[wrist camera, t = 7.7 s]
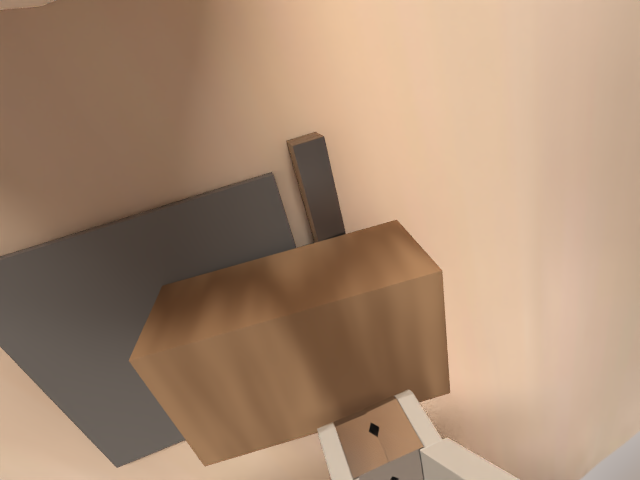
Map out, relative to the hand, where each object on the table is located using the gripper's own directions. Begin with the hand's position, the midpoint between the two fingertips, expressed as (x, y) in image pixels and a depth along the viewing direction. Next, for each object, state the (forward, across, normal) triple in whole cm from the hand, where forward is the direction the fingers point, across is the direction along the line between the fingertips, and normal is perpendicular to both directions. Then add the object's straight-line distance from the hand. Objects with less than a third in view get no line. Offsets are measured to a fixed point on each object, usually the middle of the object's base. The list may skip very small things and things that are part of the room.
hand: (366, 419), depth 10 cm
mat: (+7, +6, 0) cm, 9 cm away
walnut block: (+4, -4, 0) cm, 5 cm away
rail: (+7, -2, 0) cm, 7 cm away
